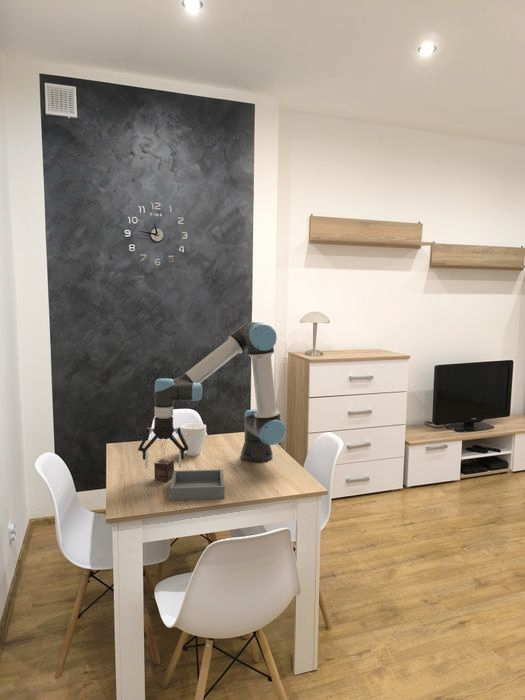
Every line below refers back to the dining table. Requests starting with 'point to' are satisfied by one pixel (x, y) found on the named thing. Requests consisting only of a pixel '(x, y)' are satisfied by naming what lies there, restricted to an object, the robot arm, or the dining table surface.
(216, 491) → the bin
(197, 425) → the cup
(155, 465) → the box
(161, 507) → the dining table surface
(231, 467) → the dining table surface
